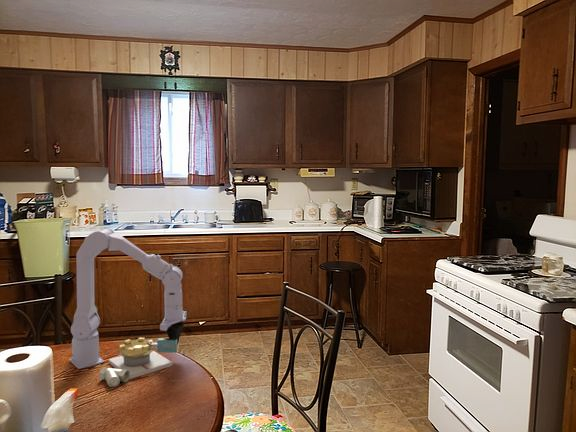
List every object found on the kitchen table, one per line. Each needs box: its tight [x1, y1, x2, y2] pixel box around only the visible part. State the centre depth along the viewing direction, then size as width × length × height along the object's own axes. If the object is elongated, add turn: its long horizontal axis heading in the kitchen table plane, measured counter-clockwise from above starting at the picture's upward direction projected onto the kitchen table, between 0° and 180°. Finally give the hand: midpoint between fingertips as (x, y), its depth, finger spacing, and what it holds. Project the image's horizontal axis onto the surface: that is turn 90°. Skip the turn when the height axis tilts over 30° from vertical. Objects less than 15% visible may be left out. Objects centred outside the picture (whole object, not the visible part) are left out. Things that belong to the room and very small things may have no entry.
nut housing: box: [108, 350, 173, 380], centre depth 146 cm, size 16×14×4 cm
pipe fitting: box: [99, 366, 130, 388], centre depth 133 cm, size 8×4×7 cm
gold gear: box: [119, 337, 178, 358], centre depth 145 cm, size 18×10×4 cm, turn 87°
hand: (174, 344), depth 150 cm, fingers closed
